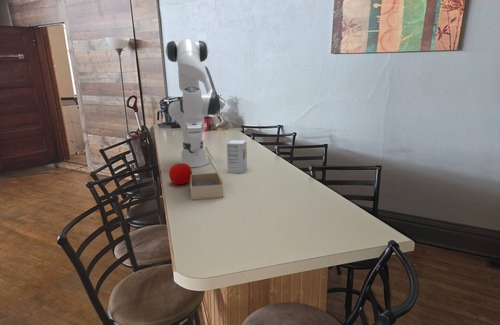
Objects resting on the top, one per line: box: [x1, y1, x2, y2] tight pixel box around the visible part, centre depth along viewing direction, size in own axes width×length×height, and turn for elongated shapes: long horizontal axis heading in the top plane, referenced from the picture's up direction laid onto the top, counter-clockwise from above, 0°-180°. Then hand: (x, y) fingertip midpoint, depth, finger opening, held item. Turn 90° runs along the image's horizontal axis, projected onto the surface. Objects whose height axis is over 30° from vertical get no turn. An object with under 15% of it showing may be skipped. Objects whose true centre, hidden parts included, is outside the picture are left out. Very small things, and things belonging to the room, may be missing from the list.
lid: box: [204, 147, 224, 185], centre depth 149 cm, size 18×14×1 cm
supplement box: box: [226, 139, 248, 174], centre depth 180 cm, size 10×9×17 cm
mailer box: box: [189, 172, 224, 201], centre depth 151 cm, size 18×14×6 cm
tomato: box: [168, 162, 193, 185], centre depth 162 cm, size 11×12×10 cm
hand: (196, 154), depth 146 cm, fingers closed
